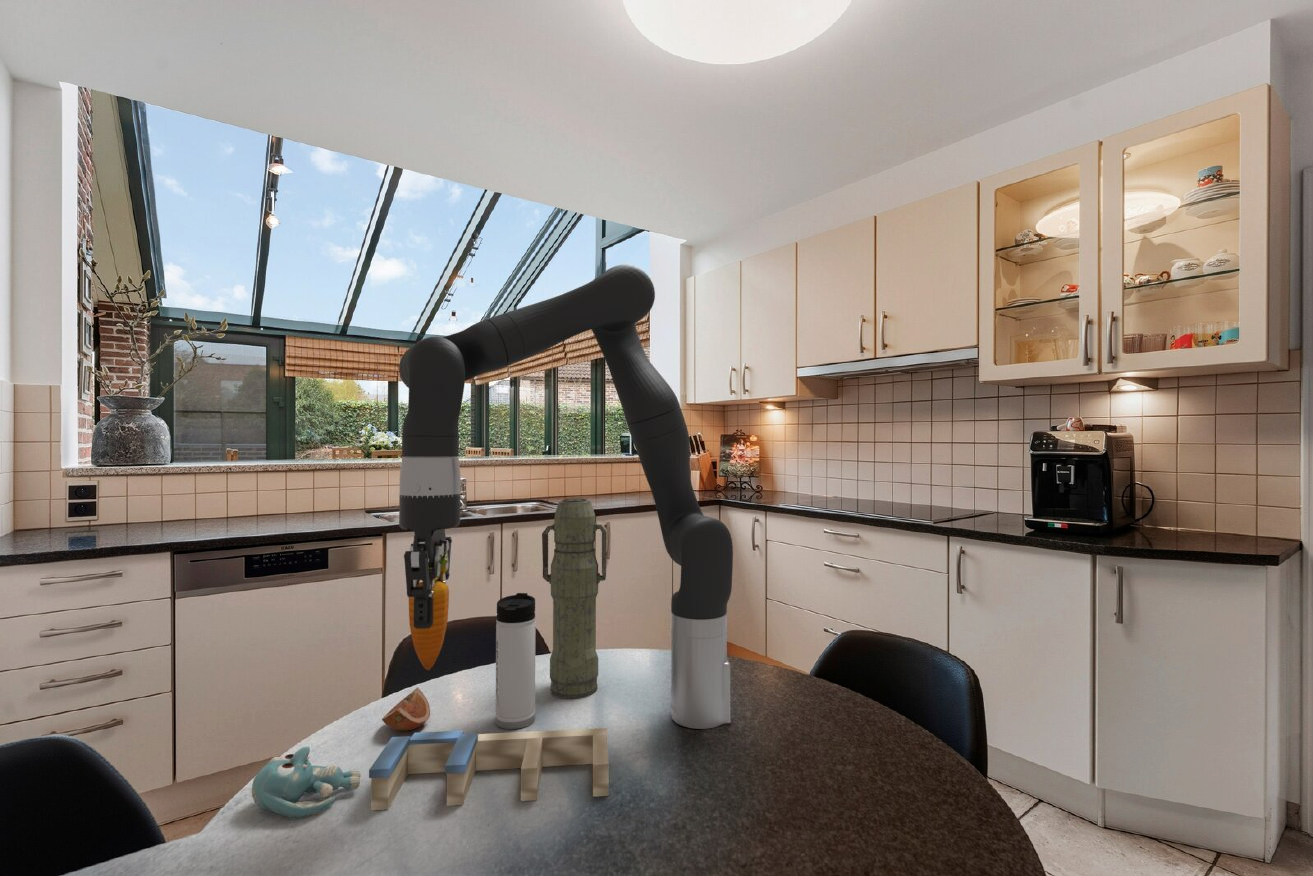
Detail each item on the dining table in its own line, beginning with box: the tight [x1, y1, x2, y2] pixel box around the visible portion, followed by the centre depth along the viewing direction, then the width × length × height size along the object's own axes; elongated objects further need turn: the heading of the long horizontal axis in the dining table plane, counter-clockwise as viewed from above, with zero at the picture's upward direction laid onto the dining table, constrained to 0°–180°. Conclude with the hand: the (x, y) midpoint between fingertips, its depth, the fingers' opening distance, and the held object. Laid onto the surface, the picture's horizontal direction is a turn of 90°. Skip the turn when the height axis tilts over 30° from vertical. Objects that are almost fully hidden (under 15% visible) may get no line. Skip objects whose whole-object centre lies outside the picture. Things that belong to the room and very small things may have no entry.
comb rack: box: [368, 727, 610, 811], centre depth 79 cm, size 29×10×5 cm, turn 96°
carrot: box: [408, 558, 450, 671], centre depth 78 cm, size 5×5×15 cm
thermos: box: [541, 498, 607, 700], centre depth 110 cm, size 9×12×35 cm
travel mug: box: [495, 592, 536, 730], centre depth 97 cm, size 6×7×20 cm
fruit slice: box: [381, 687, 431, 731], centre depth 94 cm, size 8×7×5 cm
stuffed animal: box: [251, 746, 362, 820], centre depth 75 cm, size 11×7×12 cm
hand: (429, 621), depth 78 cm, fingers closed on carrot, 4 cm apart
